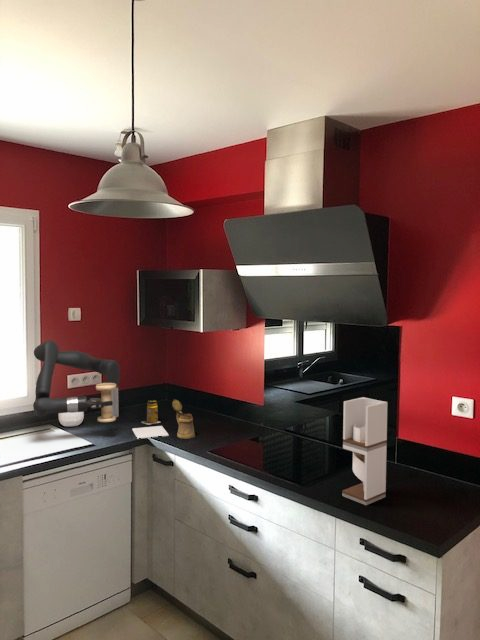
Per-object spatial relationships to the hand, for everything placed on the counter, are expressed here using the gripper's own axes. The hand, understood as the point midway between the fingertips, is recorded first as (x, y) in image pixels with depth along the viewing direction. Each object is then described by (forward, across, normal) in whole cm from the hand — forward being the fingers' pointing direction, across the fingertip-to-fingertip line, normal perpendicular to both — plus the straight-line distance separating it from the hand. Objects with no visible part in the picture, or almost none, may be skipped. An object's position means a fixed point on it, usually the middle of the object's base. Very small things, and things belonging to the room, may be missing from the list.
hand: (111, 401), depth 265 cm
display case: (+78, -108, +17) cm, 135 cm away
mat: (+19, 0, +18) cm, 26 cm away
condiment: (+23, +20, +18) cm, 35 cm away
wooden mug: (+34, -11, +18) cm, 40 cm away
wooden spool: (-3, 0, +9) cm, 9 cm away
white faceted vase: (-19, +29, +18) cm, 39 cm away
